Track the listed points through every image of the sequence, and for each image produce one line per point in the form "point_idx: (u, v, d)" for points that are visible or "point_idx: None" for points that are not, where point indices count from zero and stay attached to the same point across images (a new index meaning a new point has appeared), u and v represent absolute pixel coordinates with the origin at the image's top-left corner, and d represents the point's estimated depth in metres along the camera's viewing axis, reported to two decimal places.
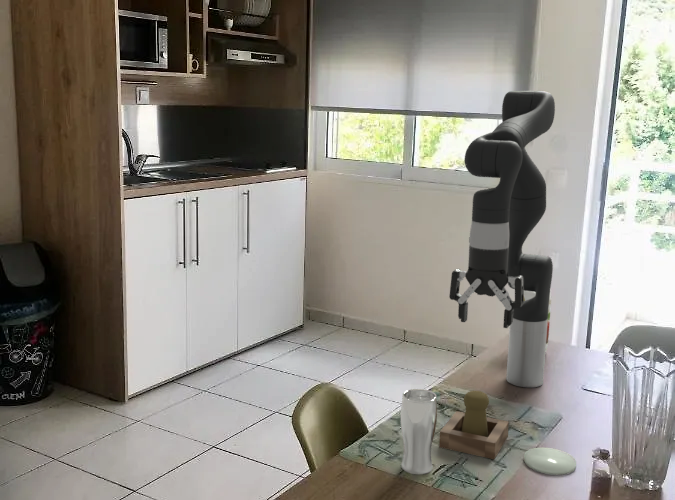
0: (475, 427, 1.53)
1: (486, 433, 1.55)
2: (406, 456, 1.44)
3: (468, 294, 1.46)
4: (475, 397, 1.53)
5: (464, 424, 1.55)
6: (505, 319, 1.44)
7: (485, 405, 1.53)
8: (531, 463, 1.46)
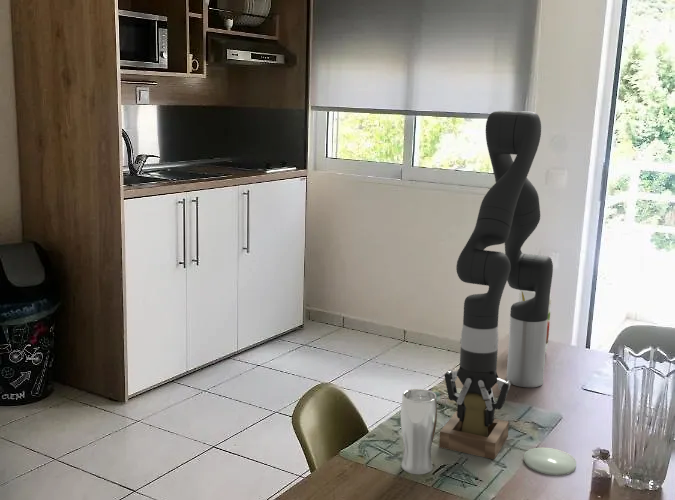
0: (474, 427, 1.53)
1: (486, 433, 1.55)
2: (406, 456, 1.44)
3: (464, 394, 1.54)
4: (475, 397, 1.53)
5: (464, 424, 1.55)
6: (487, 419, 1.53)
7: (485, 405, 1.53)
8: (531, 463, 1.46)
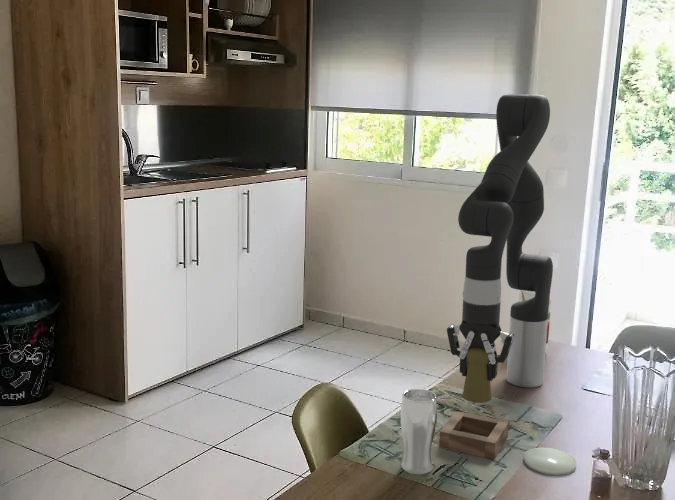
0: (477, 381, 1.51)
1: (489, 387, 1.53)
2: (406, 456, 1.44)
3: (466, 348, 1.52)
4: (478, 350, 1.51)
5: (467, 379, 1.53)
6: (490, 372, 1.51)
7: (488, 359, 1.51)
8: (531, 463, 1.46)
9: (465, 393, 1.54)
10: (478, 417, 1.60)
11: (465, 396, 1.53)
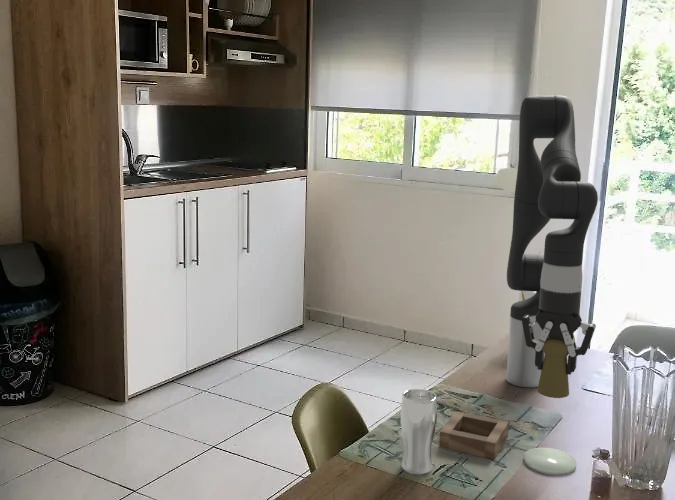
0: (555, 374, 1.42)
1: (567, 382, 1.43)
2: (406, 456, 1.44)
3: (543, 339, 1.42)
4: (556, 342, 1.41)
5: (543, 372, 1.44)
6: (569, 366, 1.42)
7: (567, 351, 1.41)
8: (531, 463, 1.46)
9: (541, 387, 1.44)
10: (478, 417, 1.60)
11: (541, 391, 1.44)
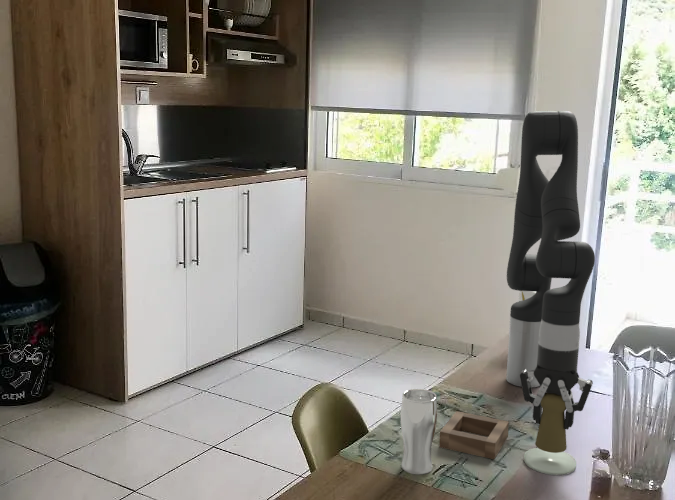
0: (553, 429, 1.44)
1: (565, 436, 1.45)
2: (406, 456, 1.44)
3: (541, 395, 1.45)
4: (554, 398, 1.43)
5: (541, 427, 1.46)
6: (566, 421, 1.44)
7: (565, 406, 1.43)
8: (531, 463, 1.46)
9: (539, 442, 1.46)
10: (478, 417, 1.60)
11: (539, 445, 1.46)
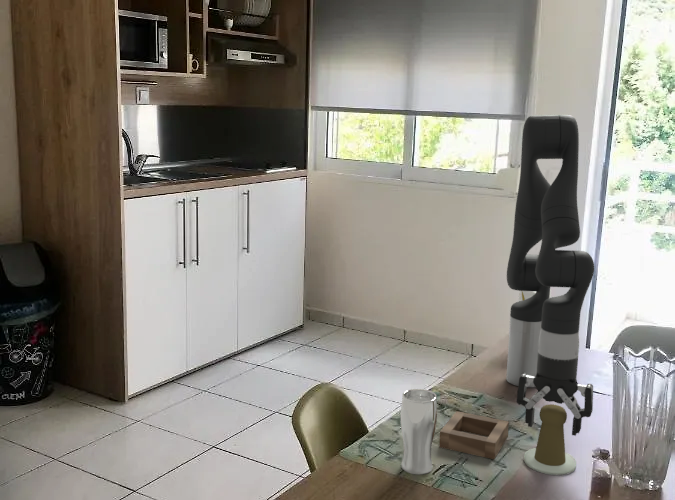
0: (552, 443, 1.45)
1: (563, 449, 1.46)
2: (406, 456, 1.44)
3: (536, 400, 1.45)
4: (553, 411, 1.44)
5: (540, 440, 1.46)
6: (574, 427, 1.43)
7: (563, 420, 1.44)
8: (531, 463, 1.46)
9: (538, 455, 1.47)
10: (478, 417, 1.60)
11: (538, 458, 1.47)
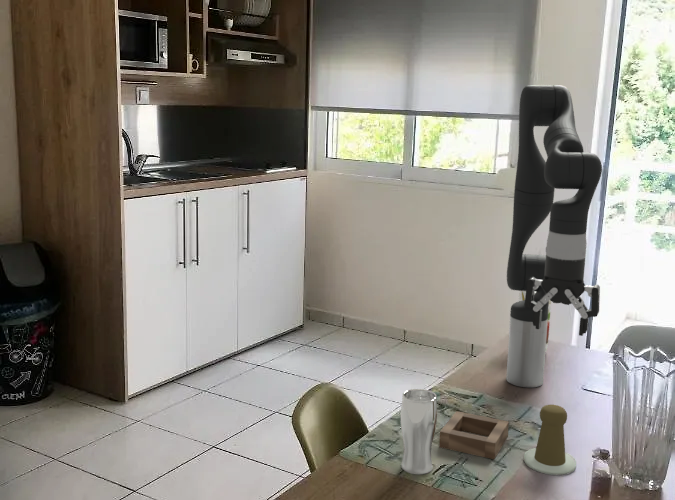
0: (552, 443, 1.45)
1: (563, 450, 1.46)
2: (406, 456, 1.44)
3: (544, 302, 1.49)
4: (553, 411, 1.44)
5: (540, 440, 1.46)
6: (581, 327, 1.47)
7: (563, 420, 1.44)
8: (531, 463, 1.46)
9: (538, 455, 1.47)
10: (478, 417, 1.60)
11: (538, 458, 1.47)
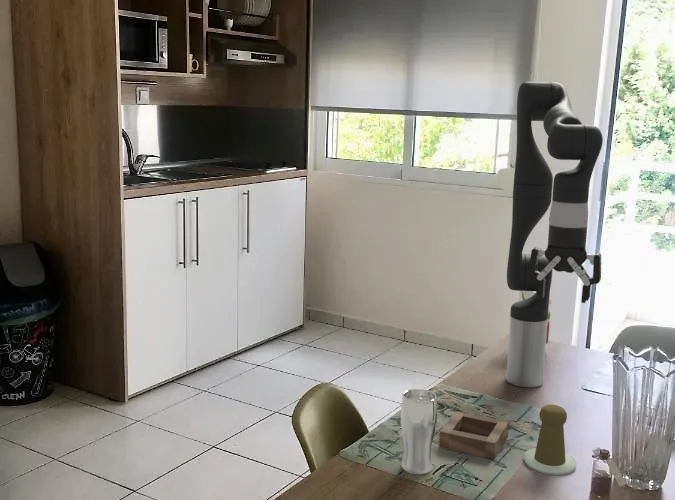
0: (552, 443, 1.45)
1: (563, 450, 1.46)
2: (406, 456, 1.44)
3: (547, 271, 1.54)
4: (553, 411, 1.44)
5: (540, 440, 1.46)
6: (583, 294, 1.52)
7: (563, 420, 1.44)
8: (531, 463, 1.46)
9: (538, 455, 1.47)
10: (478, 417, 1.60)
11: (538, 458, 1.47)
